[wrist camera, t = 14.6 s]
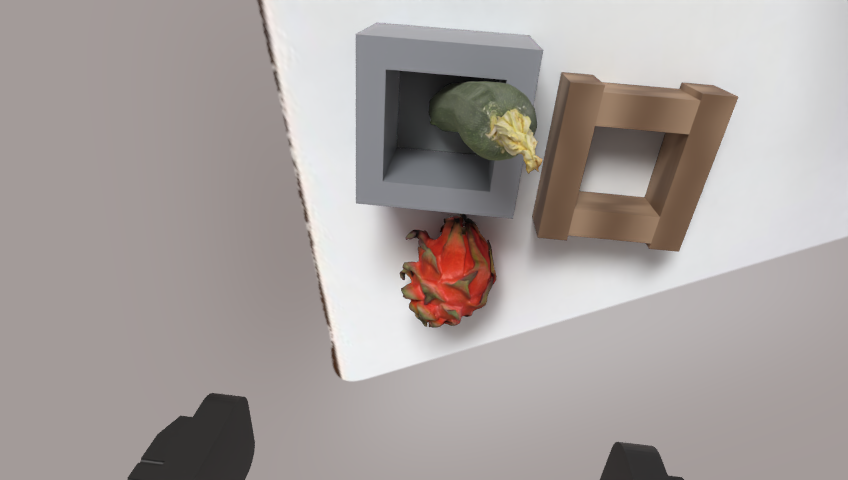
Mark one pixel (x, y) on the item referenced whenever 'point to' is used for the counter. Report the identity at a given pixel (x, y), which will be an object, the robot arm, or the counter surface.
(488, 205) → the holder
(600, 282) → the counter surface
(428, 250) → the dragon fruit
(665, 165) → the board
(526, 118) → the vegetable
